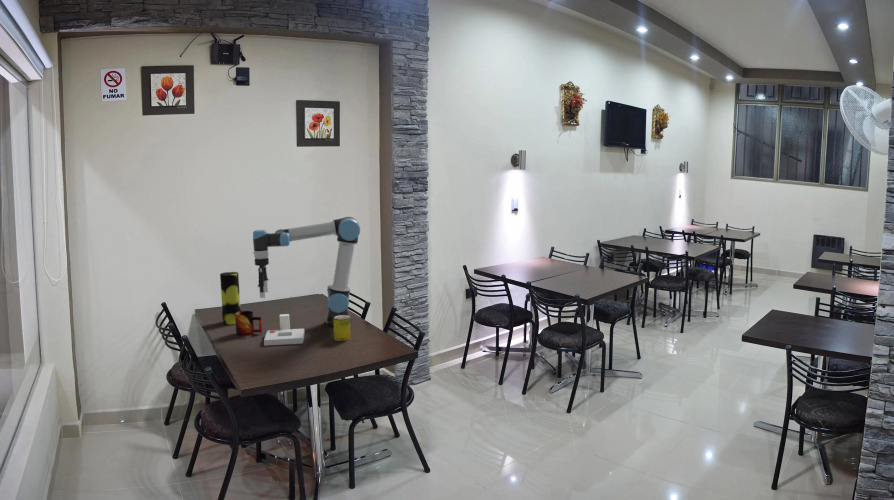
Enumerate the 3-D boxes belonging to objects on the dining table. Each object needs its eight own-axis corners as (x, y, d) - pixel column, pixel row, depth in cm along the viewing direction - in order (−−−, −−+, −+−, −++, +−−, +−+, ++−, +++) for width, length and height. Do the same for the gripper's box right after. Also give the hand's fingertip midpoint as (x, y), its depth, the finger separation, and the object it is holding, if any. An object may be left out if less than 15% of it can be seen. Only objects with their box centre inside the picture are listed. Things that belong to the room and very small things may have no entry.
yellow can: (354, 337, 342) (353, 316, 340) (343, 341, 334) (343, 320, 332) (341, 335, 346) (340, 314, 344) (330, 339, 338) (329, 318, 336)
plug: (289, 330, 354) (289, 314, 352) (289, 332, 350) (288, 315, 349) (280, 331, 353) (280, 314, 352) (280, 333, 349) (279, 316, 348)
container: (226, 325, 365) (223, 276, 360) (220, 322, 373) (217, 273, 368) (244, 322, 371) (241, 273, 367) (237, 318, 380) (234, 271, 375)
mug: (262, 334, 348) (261, 313, 346) (236, 336, 344) (235, 316, 342) (261, 329, 357) (260, 309, 355) (236, 332, 353) (235, 311, 351)
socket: (304, 333, 349) (304, 327, 348) (302, 343, 331) (302, 336, 331) (267, 335, 345) (267, 329, 345) (264, 345, 328) (263, 339, 327)
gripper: (257, 254, 355) (259, 290, 359) (251, 262, 331) (254, 300, 335) (270, 253, 357) (273, 289, 360) (265, 261, 332) (268, 299, 336)
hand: (264, 295), depth 347 cm, fingers open, 13 cm apart
